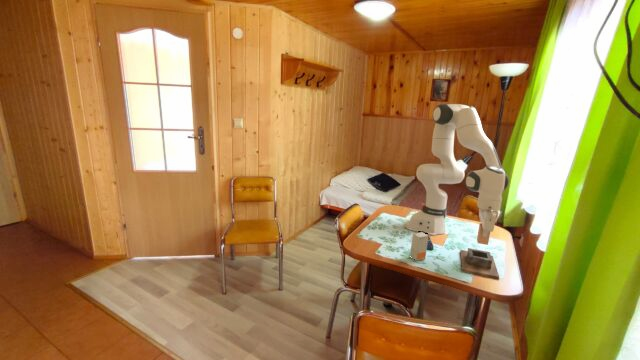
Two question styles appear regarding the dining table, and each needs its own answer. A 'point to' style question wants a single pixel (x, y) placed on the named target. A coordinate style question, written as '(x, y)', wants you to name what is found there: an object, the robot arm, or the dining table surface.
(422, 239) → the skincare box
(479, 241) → the square peg
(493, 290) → the dining table surface
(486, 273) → the socket holder
